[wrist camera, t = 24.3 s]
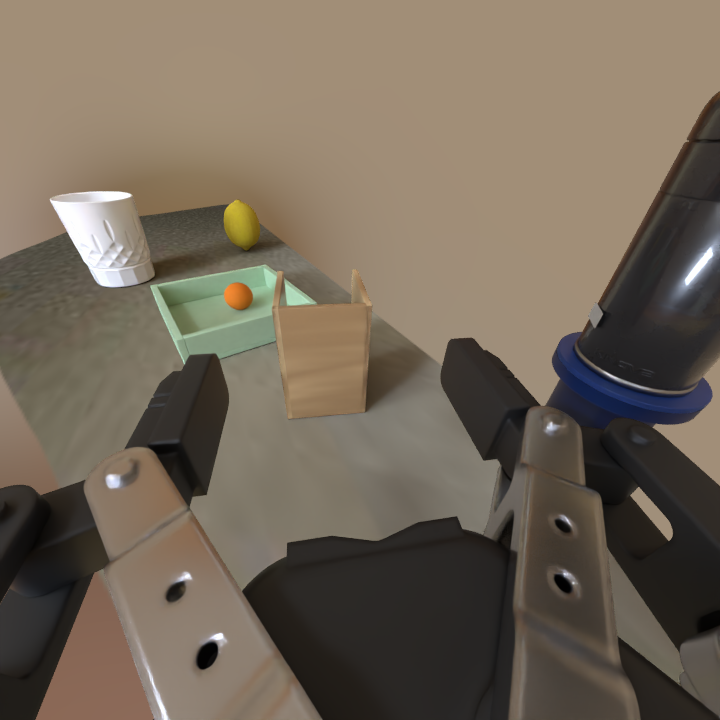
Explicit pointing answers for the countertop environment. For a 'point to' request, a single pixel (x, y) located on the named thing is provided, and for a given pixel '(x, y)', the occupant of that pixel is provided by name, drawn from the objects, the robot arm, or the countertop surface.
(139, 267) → the white cup
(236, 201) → the lemon
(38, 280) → the countertop surface
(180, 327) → the tray
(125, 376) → the countertop surface
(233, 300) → the ball
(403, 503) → the countertop surface
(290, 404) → the open wooden box
